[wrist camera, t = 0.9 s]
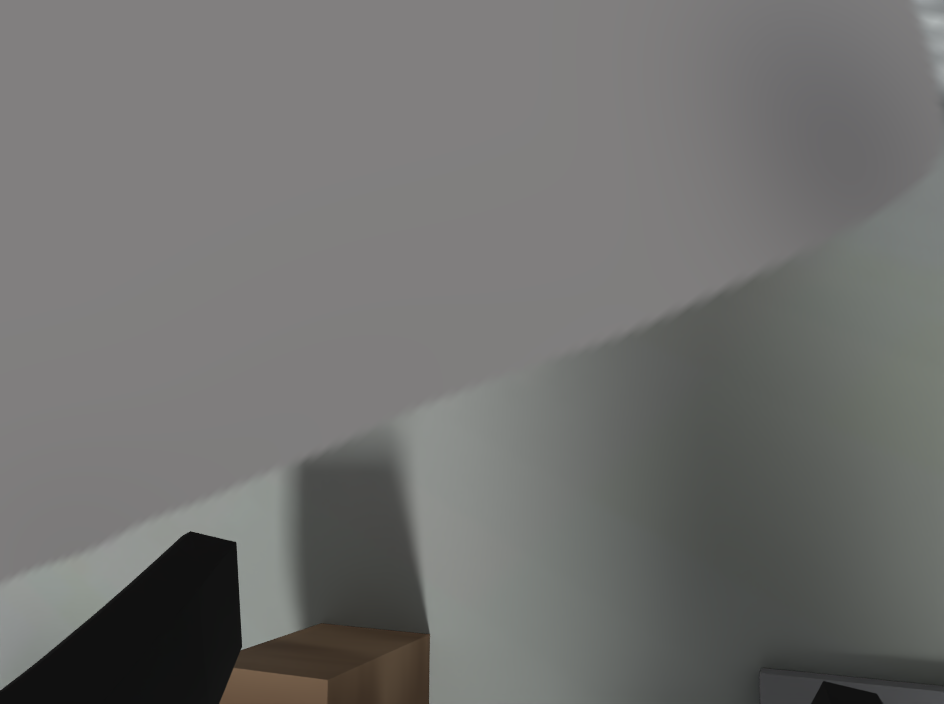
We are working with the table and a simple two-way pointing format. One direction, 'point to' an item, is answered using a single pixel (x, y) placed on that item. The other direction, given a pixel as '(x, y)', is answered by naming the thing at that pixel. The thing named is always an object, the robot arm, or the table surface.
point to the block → (333, 668)
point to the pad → (795, 691)
